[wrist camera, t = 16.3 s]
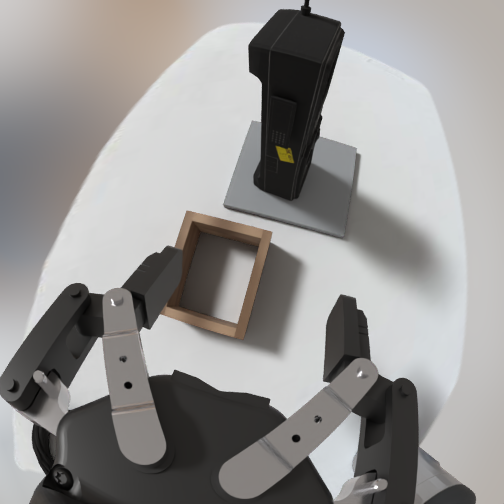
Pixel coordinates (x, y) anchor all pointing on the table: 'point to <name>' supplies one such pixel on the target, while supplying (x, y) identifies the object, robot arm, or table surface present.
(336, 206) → the slate mat
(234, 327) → the walnut collar
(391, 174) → the table surface
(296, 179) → the portable radio
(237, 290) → the table surface
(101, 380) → the table surface
